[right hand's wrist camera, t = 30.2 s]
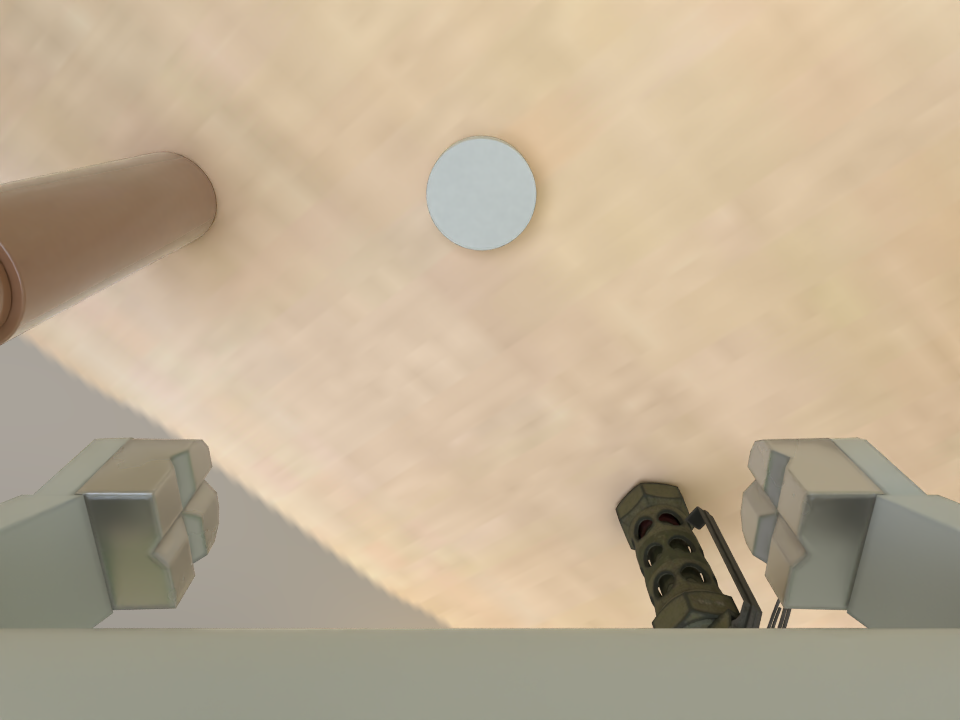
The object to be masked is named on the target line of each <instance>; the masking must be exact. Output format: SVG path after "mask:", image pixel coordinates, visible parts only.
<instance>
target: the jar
mask: <svg viewBox="0 0 960 720" xmlns="http://www.w3.org/2000/svg"><path fill="white" fill-rule="evenodd" d="M215 213H216V198H215V193H214V190H213V187H212V185H211V183H210V181H209V179H208V177H207V176H206V175H205V173H204V172H203V171H202V170H201V169H200V168H199V167H198V166H197V165H196V164H195V163H193V162H192V161H190V160H189V159H187V158H185V157H183V156H181V155H178V154H175V153H171V152H155V153H150V154H145V155H140V156H135V157H130V158H126V159H121V160H116V161H111V162H106V163H101V164H96V165H91V166H86V167H81V168H77V169H72V170H67V171H62V172H57V173H52V174H47V175H42V176H37V177H33V178H28V179H23V180H18V181H13V182H8V183H3V184H0V345H2V344H4V343H5V342H7V341H9V340H11V339H13V338H15V337H17V336H18V335H20V334H22V333H24V332H26V331H28V330H30V329H31V328H33V327H35V326H37V325H39V324H41V323H42V322H44V321H46V320H48V319H50V318H52V317H54V316H55V315H57V314H59V313H61V312H63V311H65V310H67V309H68V308H70V307H72V306H74V305H76V304H78V303H80V302H81V301H83V300H85V299H87V298H89V297H91V296H92V295H94V294H96V293H98V292H100V291H102V290H104V289H105V288H107V287H109V286H111V285H113V284H115V283H117V282H118V281H120V280H122V279H124V278H126V277H128V276H130V275H131V274H133V273H135V272H137V271H139V270H141V269H142V268H144V267H146V266H148V265H150V264H152V263H154V262H155V261H157V260H159V259H161V258H163V257H165V256H167V255H168V254H170V253H172V252H174V251H176V250H178V249H180V248H181V247H183V246H185V245H187V244H189V243H191V242H193V241H194V240H196V239H198V238H200V237H201V236H202V235H204V234H205V233H206V232H207V230H208V229H209V228H210V226H211V224H212V223H213V220H214V217H215Z"/></svg>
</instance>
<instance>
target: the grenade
mask: <svg viewBox="0 0 960 720" xmlns="http://www.w3.org/2000/svg"><path fill="white" fill-rule="evenodd" d="M616 512H617V515H618V518H619V521H620V524H621V526H622V529H623V531H624V533H625V536H626V538H627V540H628V543H629V545H630V547H631V549H633V550H635V551H636V556H637V560H638V563H639V566H640V569H641V572H642V574H643V576H644V577H645V583H646V587H647V590H648V593H649V596H650V599H651V602H652V604H653V606H654V607H655V612H656V617H655V619H654V620H653V622H652V625H653V628H759V625H760V621H761V616H762V611H761V609H760V607H759V605H758V603H757V601H756V599H755V597H754V595H753V594H752V592H751V590H750V588H749V586H748V584H747V582H746V580H745V578H744V576H743V574H742V572H741V570H740V568H739V567H738V565H737V563H736V561H735V559H734V557H733V555H732V553H731V551H730V549H729V547H728V545H727V543H726V541H725V539H724V538H723V536H722V534H721V532H720V530H719V528H718V526H717V524H716V522H715V520H714V518H713V517H712V516H711V515H710V514H709V513H708V512H707V511H706V510H702V509H701V508H699V507H698V506H697V507H696V508H695V509H694V510H693V511H692V512H691V513H690V514H689V512H688V509H687V507H686V504H685V502H684V499H683V497H682V495H681V493H680V491H679V489H678V487H675V486H671V485H666V484H660V483H640V484H639V485H637V486H636V487H635V488H633V489H632V490H631V491H630V492H629V493H628V494H627V495H626V496H625V497H624V499H623V500H622V501H621V502H620V504H619V505H618V506H617V508H616ZM705 524H706V526H707V528H708V530H709V532H710V534H711V536H712V538H713V540H714V542H715V544H716V546H717V548H718V550H719V552H720V554H721V556H722V558H723V560H724V562H725V564H726V566H727V568H728V570H729V572H730V574H731V576H732V578H733V580H734V582H735V584H736V586H737V588H738V590H739V592H740V595H741V597H742V599H743V601H744V602H743V605H742V609H741V612H740V613H739V611H738V609H737V607H736V605H735V603H734V601H733V599H732V597H731V596H727V595H724V594H723V593H722V592H721V590H720V589H719V587H718V583H717V580H716V578H715V576H714V573H713V571H712V569H711V567H710V565H709V564H708V562H707V561H706V559H705V558H704V554H703V550H702V548H701V546H700V544H699V542H698V540H697V538H696V536H695V535H694V533H693V532H692V530H693V528H694V527H695V528H697V529H698V530H699V529H701V528H702V527H703V526H704V525H705ZM688 546H689V547H690V549H691V553H690V551H689V549H688ZM648 560H650V562H651V565H652V566H650V564H649V562H648ZM700 573H702V575H703V579H704V582H703V580H702V578H701V575H700ZM658 587H660V590H661V593H662V595H661V594H660V592H659V590H658ZM779 603H780V600H779V599H778V600H777V602H776V605H775V607H774V610H773V612H772V615H771V618H770V621H769V624H768V627H767V628H775V625H776V622H777V619H778V616H779V614H780V611H781V608H780V607H778V606H779ZM777 608H778V610H777ZM786 610H787V612H786ZM776 611H777V613H776ZM790 612H791V609H788V608H784V607H783V611H782V615H781V618H780V622H779V625H778V628H786V626H787V623H788V619H789V616H790ZM775 613H776V615H775ZM785 614H786V616H785ZM774 616H775V618H774ZM784 618H785V620H784ZM773 619H774V621H773ZM783 621H784V623H783ZM772 622H773V624H772ZM782 624H783V626H782ZM771 625H772V627H771Z"/></svg>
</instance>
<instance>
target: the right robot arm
mask: <svg viewBox="0 0 960 720" xmlns="http://www.w3.org/2000/svg"><path fill="white" fill-rule="evenodd" d="M211 468H212V462H211V457H210V453H209V448H208V446H207V445H206V444H205V442H204V441H203V440H197V439H142V438H141V439H140V438H137V439H134V438H104V439H95V440H93V441H92V442H91V443H90V444H89V445H88V446H87V447H86V448H85V449H84V450H82V451H81V452H80V453H79V454H78V455H77V456H76V457H75V458H73V459H72V460H71V461H70V462H69V463H68V464H67V465H66V466H65V467H64V468H62V469H61V470H60V471H59V472H58V473H57V474H56V475H55V476H53V477H52V478H51V479H50V480H49V481H48V482H47V483H46V484H45V485H44V486H42V487H41V488H40V489H39V490H38V491H37V492H36V493H35V494H34V495H20V496H18V497H15V498H13V499H10V500H8V501H5V502H3V503H0V720H960V503H957V502H955V501H952V500H950V499H947V498H945V497H942V496H940V495H927V494H925V493H924V492H923V491H922V490H921V489H920V488H919V487H918V486H917V485H915V484H914V483H913V482H912V481H911V480H910V479H909V478H908V477H907V476H906V475H904V474H903V473H902V472H901V471H900V470H899V469H898V468H897V467H896V466H894V465H893V464H892V463H891V462H890V461H889V460H888V459H887V458H886V457H884V456H883V455H882V454H881V453H880V452H879V451H878V450H877V449H876V448H875V447H873V446H872V445H871V444H870V443H869V442H868V441H867V440H864V439H861V438H834V439H829V438H813V439H771V440H759V441H755V442H754V445H753V447H752V449H751V451H750V456H749V462H748V468H749V470H750V471H751V473H752V474H753V476H754V477H755V479H756V480H755V481H754V482H753V483H752V484H751V485H750V486H749V487H748V488H747V489H746V490H745V491H744V492H743V498H742V506H741V522H742V531H743V534H744V537H745V541H746V544H747V545H748V547H749V549H750V551H751V553H752V554H753V555H754V556H755V557H757V558H759V559H760V560H762V561H764V562H765V563H767V566H766V572H765V577H766V578H767V580H768V582H769V583H770V585H771V587H772V589H773V590H774V592H775V594H776V595H777V597H778V599H779V600H780V602H781V604H782V605H783V607H784V608H788V609H825V610H847V613H848V614H849V615H851V616H852V617H853V618H855V619H856V620H857V621H859V622H860V623H861V624H863V625H864V626H866V627H867V628H93V627H95V626H96V625H97V624H99V623H100V622H101V621H103V620H104V619H105V618H107V617H108V616H109V615H111V614H112V613H113V611H112V610H134V609H169V608H176V607H177V605H178V604H179V602H180V600H181V599H182V597H183V595H184V594H185V592H186V590H187V589H188V587H189V585H190V584H191V582H192V580H193V578H194V577H195V572H194V566H193V563H195V562H196V561H198V560H200V559H201V558H203V557H205V556H206V555H207V554H208V553H209V551H210V549H211V547H212V545H213V543H214V541H215V537H216V533H217V529H218V525H219V504H218V497H217V492H216V491H215V490H214V489H213V488H212V487H211V486H210V485H209V484H208V483H207V482H206V481H205V480H204V479H205V477H206V476H207V474H208V473H209V471H210V470H211Z"/></svg>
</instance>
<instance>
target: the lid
mask: <svg viewBox="0 0 960 720" xmlns="http://www.w3.org/2000/svg"><path fill="white" fill-rule="evenodd" d="M426 198H427V206H428V209H429V213H430V215H431V218H432V220H433V222H434V224H435V225H436V227H437V228H438V229H439V231H440V232H441V233H442V234H443V235H444V236H445V237H446V238H448V239H449V240H450V241H452V242H453V243H455V244H457V245H459V246H461V247H464V248H468V249H472V250H491V249H495V248H498V247H501V246H504V245H506V244H508V243H509V242H511V241H512V240H514V239H515V238H516V237H517V236H519V235H520V234H521V233H522V231H523V230H524V229H525V228H526V226H527V225H528V223H529V221H530V219H531V217H532V215H533V212H534V209H535V204H536V185H535V180H534V177H533V174H532V171H531V169H530V167H529V165H528V164H527V162H526V161H525V159H524V158H523V156H522V155H521V154H520V153H519V152H518V150H516V149H515V148H514V147H513V146H512V145H510V144H508V143H507V142H505V141H503V140H501V139H498V138H495V137H490V136H472V137H468V138H465V139H462V140H460V141H458V142H456V143H454V144H453V145H451V146H450V147H449V148H447V149H446V150H445V151H444V152H443V153H442V155H441V156H440V157H439V159H438V160H437V162H436V164H435V165H434V167H433V169H432V171H431V173H430V176H429V179H428V183H427V191H426Z"/></svg>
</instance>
